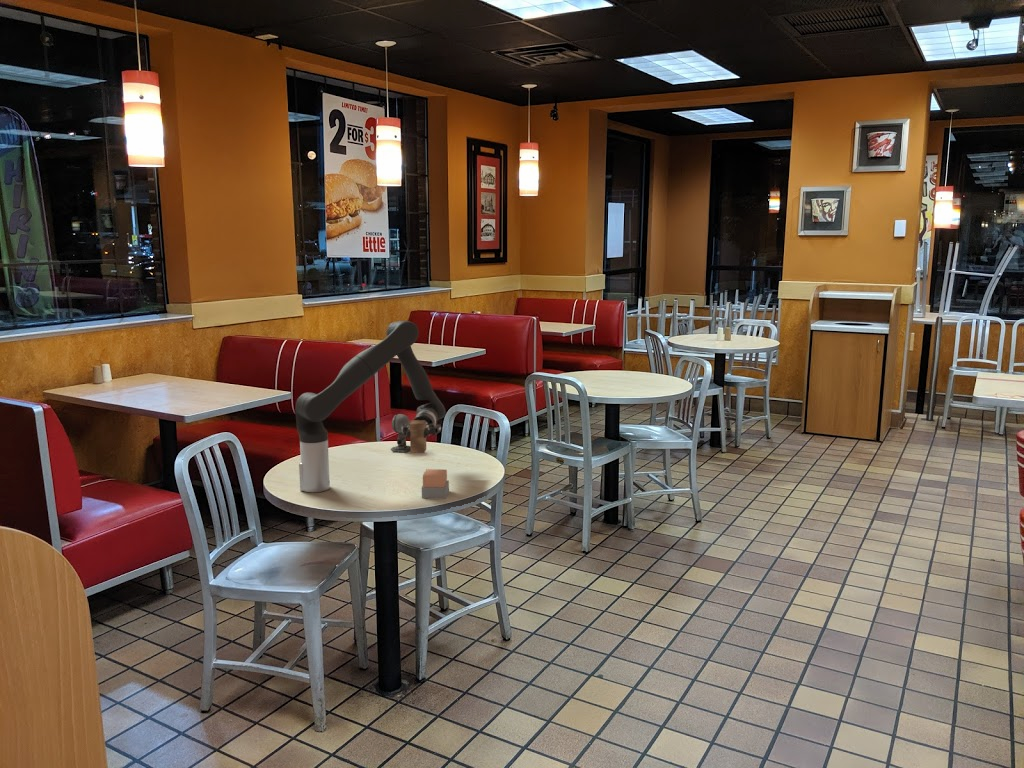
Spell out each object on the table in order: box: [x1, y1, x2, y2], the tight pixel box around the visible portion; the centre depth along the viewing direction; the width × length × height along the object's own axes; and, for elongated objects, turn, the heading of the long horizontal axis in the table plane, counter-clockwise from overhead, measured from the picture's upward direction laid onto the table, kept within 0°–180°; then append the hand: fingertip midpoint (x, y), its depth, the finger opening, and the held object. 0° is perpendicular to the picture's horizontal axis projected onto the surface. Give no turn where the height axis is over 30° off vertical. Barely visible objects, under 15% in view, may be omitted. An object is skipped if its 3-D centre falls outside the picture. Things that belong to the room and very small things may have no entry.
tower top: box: [422, 468, 448, 487], centre depth 258 cm, size 7×7×4 cm
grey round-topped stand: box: [390, 413, 411, 454], centre depth 314 cm, size 9×10×15 cm
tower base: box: [421, 480, 450, 499], centre depth 259 cm, size 8×8×4 cm
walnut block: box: [409, 419, 427, 454], centre depth 257 cm, size 5×5×10 cm
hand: (417, 434), depth 254 cm, fingers closed on walnut block, 4 cm apart
